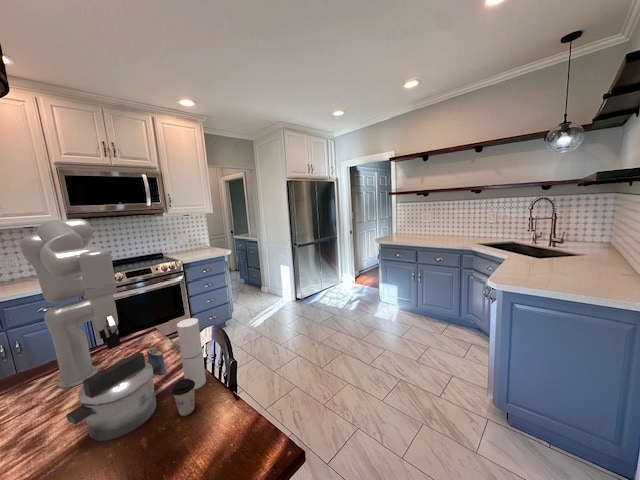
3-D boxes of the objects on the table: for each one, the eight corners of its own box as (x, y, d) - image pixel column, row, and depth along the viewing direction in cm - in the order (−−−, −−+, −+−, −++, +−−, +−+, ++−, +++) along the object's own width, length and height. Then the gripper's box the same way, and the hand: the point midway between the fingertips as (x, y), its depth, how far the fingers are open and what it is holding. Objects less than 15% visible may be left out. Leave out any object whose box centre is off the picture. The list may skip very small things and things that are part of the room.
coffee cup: (193, 399, 94) (190, 373, 92) (201, 409, 89) (197, 382, 87) (172, 410, 89) (168, 384, 87) (179, 422, 84) (174, 394, 82)
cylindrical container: (198, 390, 98) (189, 327, 94) (181, 388, 99) (172, 326, 95) (209, 377, 105) (202, 318, 101) (193, 376, 106) (185, 317, 102)
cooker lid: (101, 413, 73) (97, 394, 72) (65, 395, 81) (61, 377, 80) (165, 371, 90) (163, 355, 89) (131, 359, 98) (128, 344, 97)
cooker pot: (60, 440, 79) (52, 405, 78) (144, 384, 103) (140, 355, 101) (96, 460, 72) (87, 422, 71) (177, 395, 96) (173, 365, 94)
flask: (167, 372, 109) (163, 348, 108) (159, 376, 107) (155, 352, 105) (154, 366, 114) (150, 343, 112) (147, 370, 111) (143, 347, 110)
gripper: (80, 288, 83) (89, 338, 86) (90, 300, 72) (101, 357, 75) (109, 281, 89) (117, 329, 92) (123, 292, 78) (132, 345, 81)
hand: (110, 341), depth 83 cm, fingers open, 9 cm apart
